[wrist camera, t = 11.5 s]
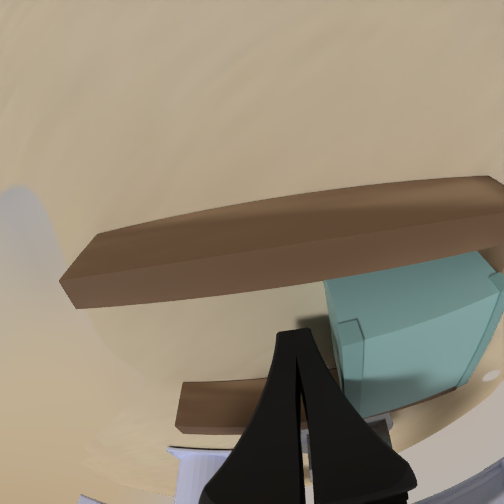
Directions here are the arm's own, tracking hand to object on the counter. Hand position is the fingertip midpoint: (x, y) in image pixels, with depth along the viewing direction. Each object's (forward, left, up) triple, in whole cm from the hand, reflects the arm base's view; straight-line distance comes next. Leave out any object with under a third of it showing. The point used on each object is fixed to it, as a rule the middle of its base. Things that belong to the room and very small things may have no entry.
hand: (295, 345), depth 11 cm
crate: (0, -5, -1) cm, 5 cm away
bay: (0, -1, -1) cm, 2 cm away
